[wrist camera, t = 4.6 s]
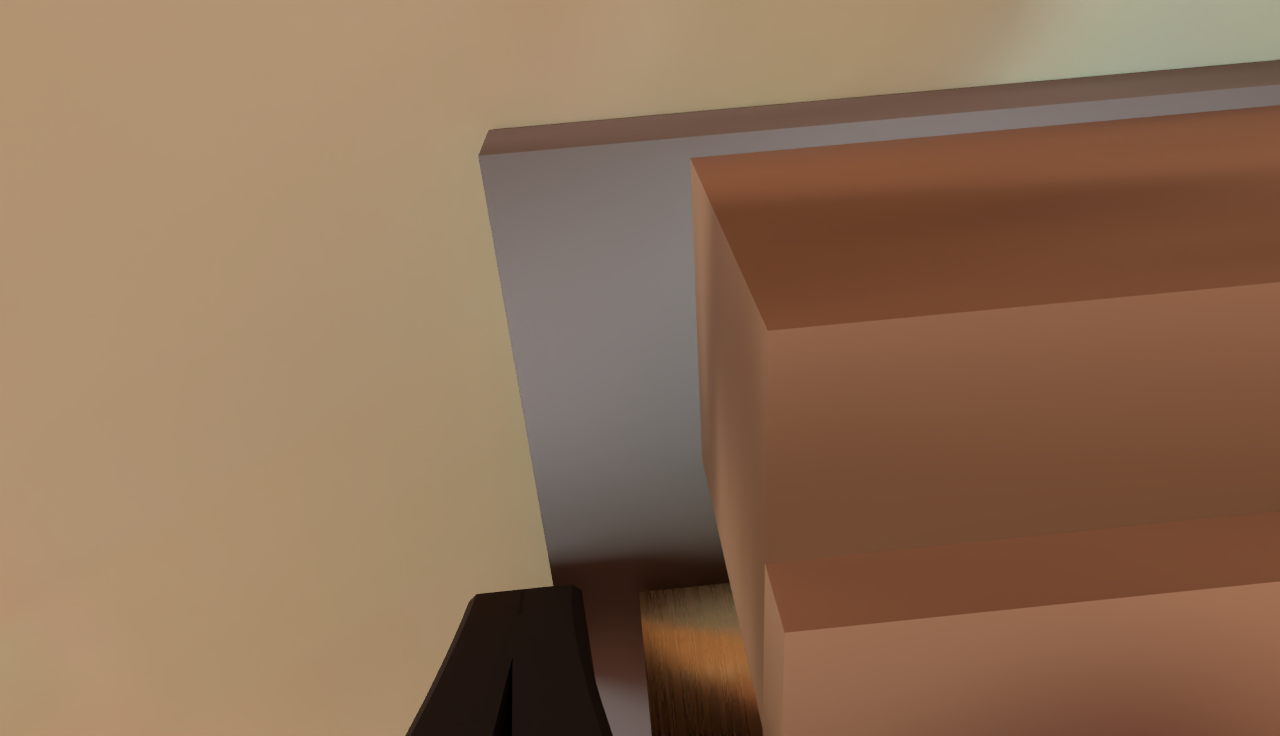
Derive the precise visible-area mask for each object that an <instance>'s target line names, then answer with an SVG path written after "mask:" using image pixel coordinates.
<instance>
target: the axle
mask: <svg viewBox="0 0 1280 736" xmlns="http://www.w3.org/2000/svg"><path fill="white" fill-rule="evenodd" d="M639 601H640V613H641V625H642V636H643V647H644V658H645V669H646V680H647V691H648V701H649V712H650V722H651V733H652V736H763V728H762V723H761V719H760V714H759V710H758V705H757V701H756V696H755V692H754V688H753V683H752V679H751V674H750V670H749V665H748V661H747V657H746V652H745V648H744V643H743V639H742V634H741V630H740V625H739V621H738V617H737V612H736V608H735V603H734V599H733V594H732V590H731V586H730V583H723V584H714V585H704V586H695V587H685V588H676V589H666V590H657V591H647V592H639Z"/></svg>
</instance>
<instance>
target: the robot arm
mask: <svg viewBox="0 0 1280 736" xmlns="http://www.w3.org/2000/svg"><path fill="white" fill-rule="evenodd" d="M406 736H613V734H612V731H611V728H610V725H609V722H608V719H607V716H606V713H605V710H604V707H603V704H602V701H601V698H600V694H599V691H598V687H597V684H596V680H595V674H594V667H593V661H592V654H591V648H590V641H589V635H588V628H587V622H586V615H585V608H584V602H583V595H582V590H580V589H578V588H577V587H575V586H574V585H572V584H570V585H561V586H551V587H541V588H532V589H522V590H512V591H503V592H493V593H483V594H476V595H475V596H474V597H473V598H472V599H471V600H470V601H469V603H468V606H467V608H466V611H465V613H464V616H463V618H462V621H461V623H460V625H459V628H458V630H457V632H456V635H455V637H454V639H453V641H452V644H451V646H450V648H449V650H448V652H447V655H446V657H445V659H444V661H443V663H442V665H441V667H440V669H439V671H438V673H437V675H436V677H435V680H434V682H433V684H432V686H431V688H430V690H429V692H428V694H427V696H426V698H425V700H424V702H423V704H422V706H421V707H420V709H419V711H418V713H417V715H416V717H415V719H414V721H413V723H412V724H411V726H410V728H409V730H408V732H407V734H406Z"/></svg>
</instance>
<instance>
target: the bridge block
mask: <svg viewBox="0 0 1280 736" xmlns="http://www.w3.org/2000/svg"><path fill="white" fill-rule="evenodd" d="M479 162H480V167H481V173H482V179H483V185H484V190H485V196H486V202H487V208H488V213H489V219H490V225H491V230H492V236H493V242H494V248H495V253H496V259H497V265H498V271H499V276H500V282H501V288H502V293H503V299H504V305H505V311H506V316H507V322H508V328H509V333H510V339H511V345H512V351H513V356H514V362H515V368H516V374H517V379H518V385H519V391H520V396H521V402H522V408H523V414H524V419H525V425H526V431H527V437H528V442H529V448H530V454H531V459H532V465H533V471H534V477H535V482H536V488H537V494H538V499H539V505H540V511H541V517H542V522H543V528H544V534H545V540H546V545H547V551H548V557H549V562H550V568H551V574H552V580H553V585H554V586H561V585H570V584H572V585H574V586H575V587H577V588H578V589H580V590H582V595H583V602H584V608H585V615H586V622H587V628H588V635H589V641H590V648H591V654H592V661H593V667H594V674H595V680H596V684H597V687H598V691H599V694H600V698H601V701H602V704H603V707H604V710H605V713H606V716H607V719H608V722H609V725H610V728H611V731H612V734H613V736H652V733H651V722H650V712H649V701H648V691H647V680H646V669H645V658H644V647H643V636H642V625H641V613H640V601H639V592H647V591H657V590H666V589H676V588H685V587H695V586H704V585H714V584H723V583H730V586H731V590H732V594H733V599H734V603H735V608H736V612H737V617H738V621H739V625H740V630H741V634H742V639H743V643H744V648H745V652H746V657H747V661H748V665H749V670H750V674H751V679H752V683H753V688H754V692H755V696H756V701H757V705H758V710H759V714H760V719H761V723H762V728H763V736H1280V60H1276V61H1264V62H1253V63H1242V64H1230V65H1219V66H1208V67H1196V68H1185V69H1174V70H1162V71H1151V72H1140V73H1129V74H1117V75H1106V76H1095V77H1083V78H1072V79H1061V80H1049V81H1038V82H1027V83H1015V84H1004V85H993V86H981V87H970V88H959V89H948V90H936V91H925V92H914V93H902V94H891V95H880V96H868V97H857V98H846V99H834V100H823V101H812V102H800V103H789V104H778V105H767V106H755V107H744V108H733V109H721V110H710V111H699V112H687V113H676V114H665V115H653V116H642V117H631V118H619V119H608V120H597V121H586V122H574V123H563V124H552V125H540V126H529V127H518V128H506V129H495V130H489V131H488V133H487V136H486V138H485V141H484V143H483V146H482V148H481V151H480V153H479Z"/></svg>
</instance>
